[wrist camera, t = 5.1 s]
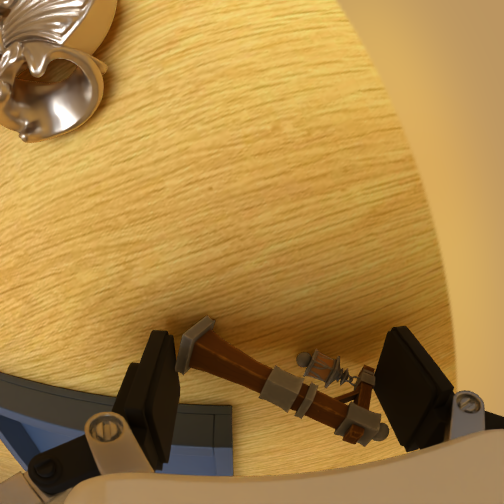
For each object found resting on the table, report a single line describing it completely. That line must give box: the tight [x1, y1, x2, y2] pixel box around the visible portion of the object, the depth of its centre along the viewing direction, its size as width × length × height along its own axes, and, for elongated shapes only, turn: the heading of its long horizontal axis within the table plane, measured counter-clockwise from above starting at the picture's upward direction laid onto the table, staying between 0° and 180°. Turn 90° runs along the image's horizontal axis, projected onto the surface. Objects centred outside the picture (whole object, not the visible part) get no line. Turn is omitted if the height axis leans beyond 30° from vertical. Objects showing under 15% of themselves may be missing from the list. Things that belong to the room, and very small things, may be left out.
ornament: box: [0, 0, 117, 143], centre depth 6 cm, size 8×7×4 cm
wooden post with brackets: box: [175, 315, 389, 447], centre depth 11 cm, size 2×8×4 cm, turn 73°
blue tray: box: [0, 373, 233, 476], centre depth 14 cm, size 15×13×3 cm
